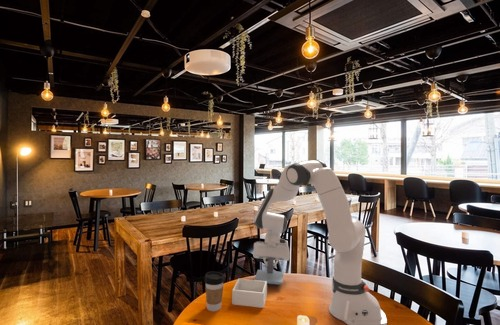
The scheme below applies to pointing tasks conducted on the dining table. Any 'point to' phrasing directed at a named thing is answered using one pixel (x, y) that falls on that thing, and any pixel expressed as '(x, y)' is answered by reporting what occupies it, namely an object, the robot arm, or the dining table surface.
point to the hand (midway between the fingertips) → (270, 266)
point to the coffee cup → (214, 290)
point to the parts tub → (249, 293)
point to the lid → (270, 274)
